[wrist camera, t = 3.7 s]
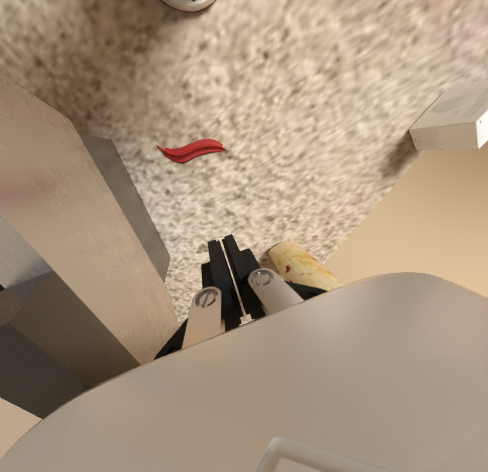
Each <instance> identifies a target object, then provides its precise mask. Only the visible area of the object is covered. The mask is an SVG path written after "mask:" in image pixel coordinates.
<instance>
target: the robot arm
mask: <svg viewBox="0 0 488 472" xmlns="http://www.w3.org/2000/svg"><path fill="white" fill-rule="evenodd" d="M162 1H164V2H165V3H166V4H168V5H170V6H172V7H174V8H176V9H179V10H184V11H198V10H201V9H203V8H206V7H207V6H209V5H210V4H211V3H213V2H214V0H194V1H195V2H192V1H191V0H162ZM224 238H225V239H223V240H222V242H223V245H224V248H225V251H226V255H227V258H228V261H229V264H230V267H231V270H232V273H233V276H234V279H235V282H236V285H237V288H238V291H239V294H240V297H241V300H242V303H243V306H244V309H245V312H246V315H247V314H250V315H251V318H252V319H256V320H254V321H251V322H248V323H246V324H243V325H241V326H239V324H242V323H241V319H240V317H242V316H243V313H242V309H241V306H240V303H239V299H238V296H237V293H236V289H235V286H234V283H233V280H232V276H231V273H230V270H229V267H228V264H227V261H226V259H225V256H224V253H223V250H222V247H221V244H220V241H217V242H216V240H213V241H210V242H208V249H209V256H210V262H207V263H204V264H202V265H201V269H202V288H203V289H202V290H200V291H199V292H198V293H197V294H196V295H195V296H194V297H193V300H192V303H191V308H190V313H189V317H188V318H187V319H186V321H185V322H184V323H183V324H182V325H181V326H180V328H179V329H178V330H177V331H176V332H175V333H174V335H173V336H172V337H171V338H170V339H169V340H168V342H167V343H166V344H165V345H164V346H163V347H162V349H161V350H160V351H159V352H158V354H157V355H156V356H155V358H154V360H153V361H151V362H149V361H147V362H146V363H144V364H142V365H141V366H139V367H137V368H134V369H132V370H129V371H127V372H125V373H123V374H120V375H118V376H116V377H114V378H111V379H109V380H107V381H105V382H102V383H100V384H98V385H96V386H94V387H92V388H90V389H88V390H87V391H85V392H83V393H81V394H79V395H78V396H76V397H74V398H73V399H71V400H69V401H68V402H66V403H65V404H63V405H62V406H60V407H59V408H57V409H56V410H55V411H53V412H52V413H51V414H49V415H48V416H46V417H45V418H44V419H42V420H41V421H40V422H38V423H37V424H36V425H35V426H34V427H32V428H31V429H30V430H29V431H28V432H27V433H26V434H24V435H23V436H22V437H21V438H20V439H19V440H18V441H17V442H16V443H15V444H14V445H13V446H12V447H11V448H10V449H9V450H8V451H7V452H6V453H5V455H4V456H3V457H2V458H1V460H0V472H488V298H487V297H485V296H483V295H481V294H479V293H476V292H474V291H472V290H470V289H467V288H465V287H463V286H460V285H458V284H456V283H453V282H451V281H448V280H445V279H442V278H440V277H436V276H433V275H430V274H425V273H415V272H402V273H388V274H383V275H376V276H373V277H369V278H365V279H362V280H359V281H356V282H353V283H350V284H347V285H344V286H341V287H337V288H332V289H331V291H327V290H324V289H321V288H317V287H312V286H307V285H302V284H298V283H293V282H288V281H284V280H283V279H282V278H281V277H280V276H279V275H278V274H277V273H276V272H275V271H273V270H272V269H269V268H261V267H260V265H259V264H258V262H257V260H256V259H255V257H254V255H253V253H252V252H251V250H250V249H249V248H248V249H245V250H243V251H240V250H239V248H238V246H237V244H236V242H235V240H234V237H233V235H232V234H231V235H228V236H225V237H224Z"/></svg>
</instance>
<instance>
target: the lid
mask: <svg viewBox="0 0 488 472" xmlns="http://www.w3.org/2000/svg"><path fill="white" fill-rule="evenodd" d="M0 284H1V285H2V286H3V287H4V288H5V289H4V290H3V291H2V292H0V397H1V398H3V399H5V400H6V401H8V402H10V403H12V404H14V405H16V406H18V407H20V408H22V409H24V410H26V411H28V412H30V413H32V414H34V415H35V416H37V417H39V418H42V419H44V418H45V417H46V416H48V415H49V414H51V413H52V412H53V411H55V410H56V409H57V408H59V407H60V406H62V405H63V404H65V403H66V402H68V401H69V400H71V399H73V398H74V397H76V396H78V395H79V394H81V393H83V392H85V391H87V390H88V389H90V388H92V387H94V386H96V385H98V384H100V383H102V382H105V381H107V380H109V379H111V378H114V377H116V376H118V375H120V374H123V373H125V372H127V371H129V370H132V369H134V368H137V367H139V366H141V365H142V364H144V363H146V362H147V361H149V362H151V361H153V360H154V358H155V356H156V355H157V354H158V352H159V351H160V350H161V349H162V347H163V346H164V345H165V344H166V343H167V342H168V340H169V339H170V338H171V337H172V336H173V335H174V333H175V332H176V331H177V330H178V329H179V326H178V322H177V318H176V313H175V309H174V305H173V301H172V297H171V295H170V293H169V292H168V290H167V288H166V286H165V285H164V283H163V281H162V279H161V278H160V276H159V274H158V272H157V271H156V269H155V267H154V265H153V264H152V262H151V260H150V258H149V257H148V255H147V253H146V251H145V250H144V248H143V246H142V245H141V243H140V241H139V239H138V238H137V236H136V234H135V232H134V231H133V229H132V227H131V225H130V224H129V222H128V220H127V218H126V217H125V215H124V213H123V211H122V210H121V208H120V206H119V204H118V203H117V201H116V199H115V197H114V196H113V194H112V192H111V190H110V189H109V187H108V185H107V183H106V182H105V180H104V178H103V177H102V175H101V173H100V171H99V170H98V168H97V166H96V164H95V163H94V161H93V159H92V157H91V156H90V154H89V152H88V150H87V149H86V147H85V145H84V143H83V142H82V140H81V138H80V136H79V135H78V133H77V131H76V129H75V128H74V126H73V124H72V122H71V121H70V120H69V119H68V118H66V117H65V116H63V115H62V114H61V113H59V112H58V111H56V110H55V109H53V108H52V107H50V106H49V105H47V104H46V103H45V102H43V101H42V100H40V99H39V98H37V97H36V96H34V95H33V94H32V93H30V92H29V91H27V90H26V89H24V88H23V87H21V86H20V85H19V84H17V83H16V82H14V81H13V80H11V79H10V78H8V77H7V76H5V75H4V74H3V73H1V72H0Z"/></svg>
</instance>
